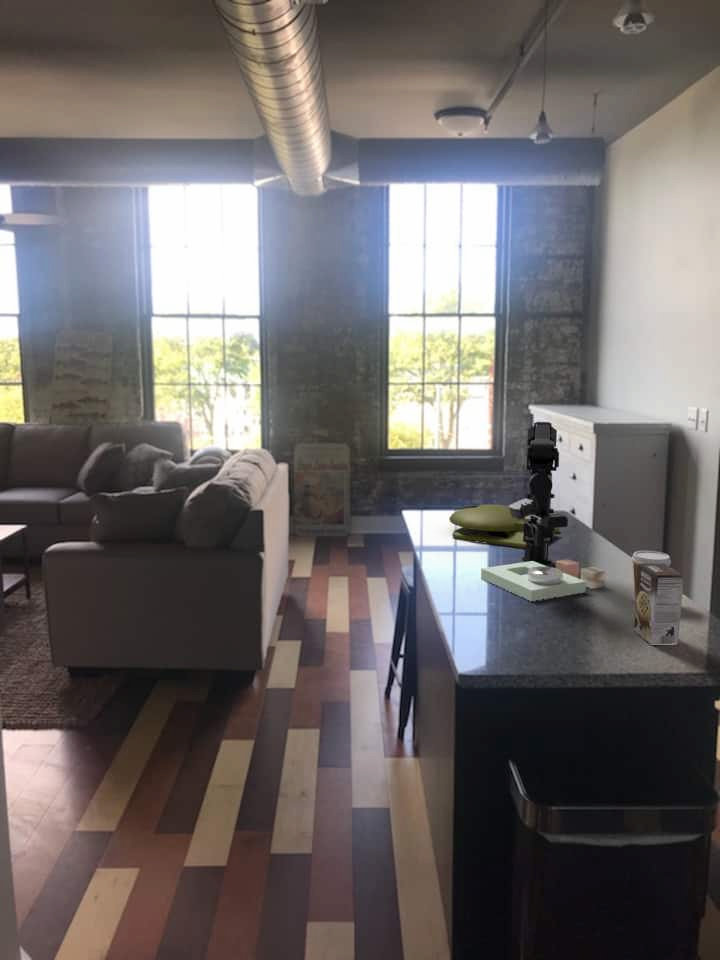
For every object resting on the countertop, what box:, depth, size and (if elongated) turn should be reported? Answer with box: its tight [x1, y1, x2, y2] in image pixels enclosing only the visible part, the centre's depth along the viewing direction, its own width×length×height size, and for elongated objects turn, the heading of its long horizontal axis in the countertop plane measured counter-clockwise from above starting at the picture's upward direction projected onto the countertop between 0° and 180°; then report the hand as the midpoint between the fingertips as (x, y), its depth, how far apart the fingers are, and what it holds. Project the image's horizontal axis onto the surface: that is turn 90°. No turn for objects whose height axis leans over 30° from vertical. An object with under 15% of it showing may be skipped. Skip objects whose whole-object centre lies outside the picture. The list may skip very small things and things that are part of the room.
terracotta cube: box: [555, 558, 580, 579], centre depth 214 cm, size 4×4×4 cm
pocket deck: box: [480, 561, 587, 602], centre depth 207 cm, size 18×22×3 cm
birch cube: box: [579, 566, 606, 589], centre depth 207 cm, size 4×4×4 cm
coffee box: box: [633, 563, 685, 645], centre depth 168 cm, size 9×6×16 cm
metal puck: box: [528, 566, 563, 585], centre depth 201 cm, size 9×9×2 cm
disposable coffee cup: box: [631, 550, 672, 600], centre depth 194 cm, size 10×10×12 cm
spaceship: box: [448, 504, 561, 549], centre depth 265 cm, size 35×31×10 cm
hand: (537, 546), depth 205 cm, fingers closed
